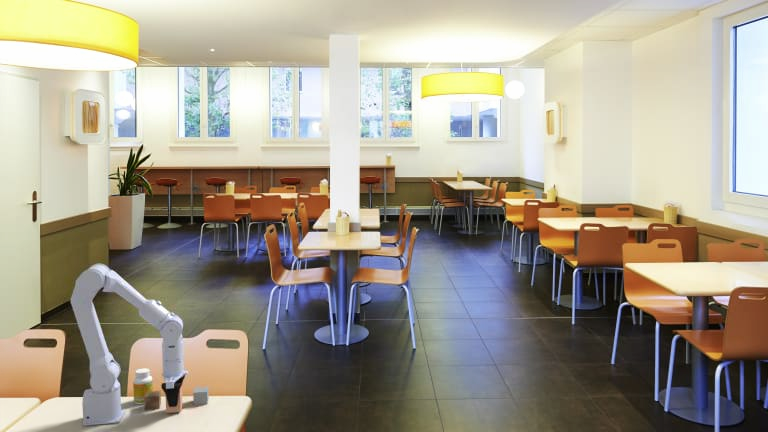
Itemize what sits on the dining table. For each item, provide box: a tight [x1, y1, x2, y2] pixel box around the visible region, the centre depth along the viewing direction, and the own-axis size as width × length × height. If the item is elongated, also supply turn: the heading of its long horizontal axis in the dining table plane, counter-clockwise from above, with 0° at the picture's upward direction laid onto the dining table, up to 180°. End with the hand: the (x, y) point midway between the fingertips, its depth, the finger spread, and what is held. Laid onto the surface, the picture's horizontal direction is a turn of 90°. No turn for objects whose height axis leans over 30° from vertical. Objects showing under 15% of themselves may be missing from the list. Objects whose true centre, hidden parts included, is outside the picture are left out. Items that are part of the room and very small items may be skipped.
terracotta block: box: [165, 385, 183, 414], centre depth 163 cm, size 4×4×7 cm
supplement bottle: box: [132, 367, 154, 405], centre depth 170 cm, size 5×5×10 cm
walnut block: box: [144, 390, 162, 411], centre depth 166 cm, size 4×4×4 cm
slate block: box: [192, 386, 209, 406], centre depth 170 cm, size 4×4×4 cm
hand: (174, 403), depth 163 cm, fingers closed on terracotta block, 4 cm apart
